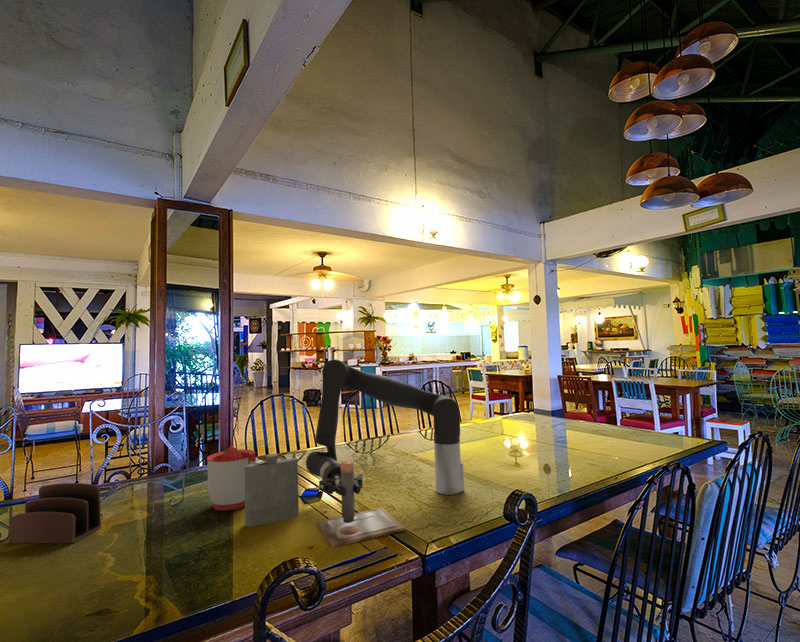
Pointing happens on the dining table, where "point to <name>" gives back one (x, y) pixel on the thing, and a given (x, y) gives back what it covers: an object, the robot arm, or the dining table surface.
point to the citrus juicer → (228, 477)
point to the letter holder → (58, 515)
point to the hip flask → (271, 491)
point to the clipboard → (359, 527)
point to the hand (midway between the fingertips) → (351, 491)
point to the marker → (348, 491)
